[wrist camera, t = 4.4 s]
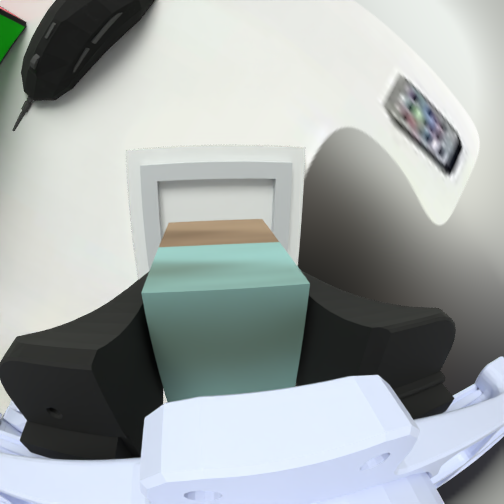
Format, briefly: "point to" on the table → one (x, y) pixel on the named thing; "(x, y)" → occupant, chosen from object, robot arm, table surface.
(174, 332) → the teal brown rectangular block
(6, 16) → the puzzle cube
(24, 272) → the table surface
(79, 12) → the gaming mouse
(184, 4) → the table surface
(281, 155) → the base plate
